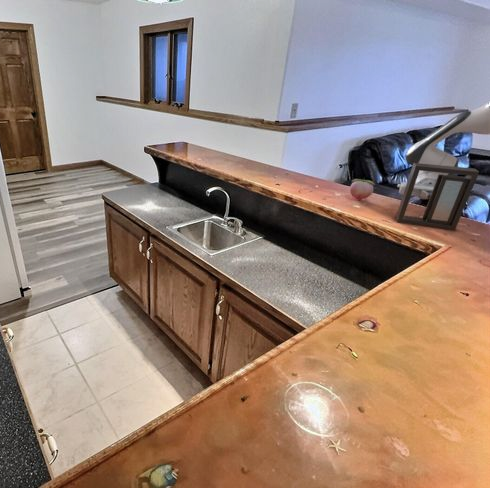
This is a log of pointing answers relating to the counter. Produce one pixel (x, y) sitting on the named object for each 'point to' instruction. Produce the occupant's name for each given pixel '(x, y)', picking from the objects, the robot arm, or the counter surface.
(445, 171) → the window frame
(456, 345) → the counter surface
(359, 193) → the decorative fruit
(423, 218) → the sash
